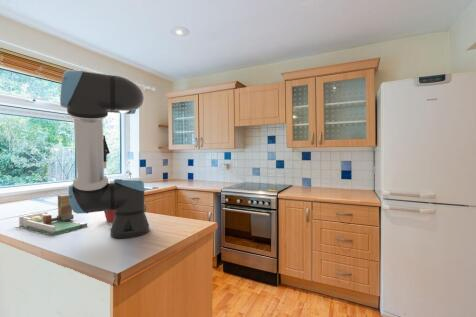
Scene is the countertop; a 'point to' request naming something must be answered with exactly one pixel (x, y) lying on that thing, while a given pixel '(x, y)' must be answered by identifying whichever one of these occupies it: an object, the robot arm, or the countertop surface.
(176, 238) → the countertop surface
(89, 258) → the countertop surface
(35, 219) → the ball
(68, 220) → the rail
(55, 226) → the pitch
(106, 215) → the flower pot
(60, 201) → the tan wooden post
